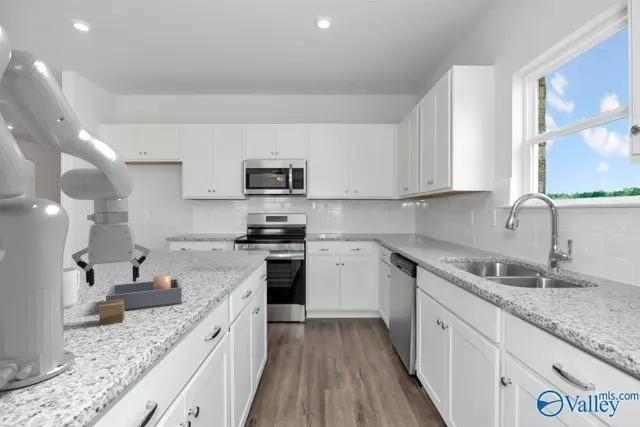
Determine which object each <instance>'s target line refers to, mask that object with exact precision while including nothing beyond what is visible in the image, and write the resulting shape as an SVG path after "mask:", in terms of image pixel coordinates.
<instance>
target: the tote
mask: <svg viewBox="0 0 640 427" xmlns="http://www.w3.org/2000/svg"><path fill="white" fill-rule="evenodd" d="M182 290H183V289H182V286H181V282H180V279H179V278H173V279H172V278H171V288H170V289H161V290H153V281H152V280H151V281H141V282H130V283H121V284H112V285H111V286H110V288H109V290H108V292H107V294H106V295H105V301H111V300H119V299H124V312H129V311H130V310H131V311H136V310H143V309H144V310H146V309H152V308H160V307H167V306H175V305H182V303H183V302H182V300H183V299H182V296H183V294H182V292H183V291H182Z"/></svg>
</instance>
